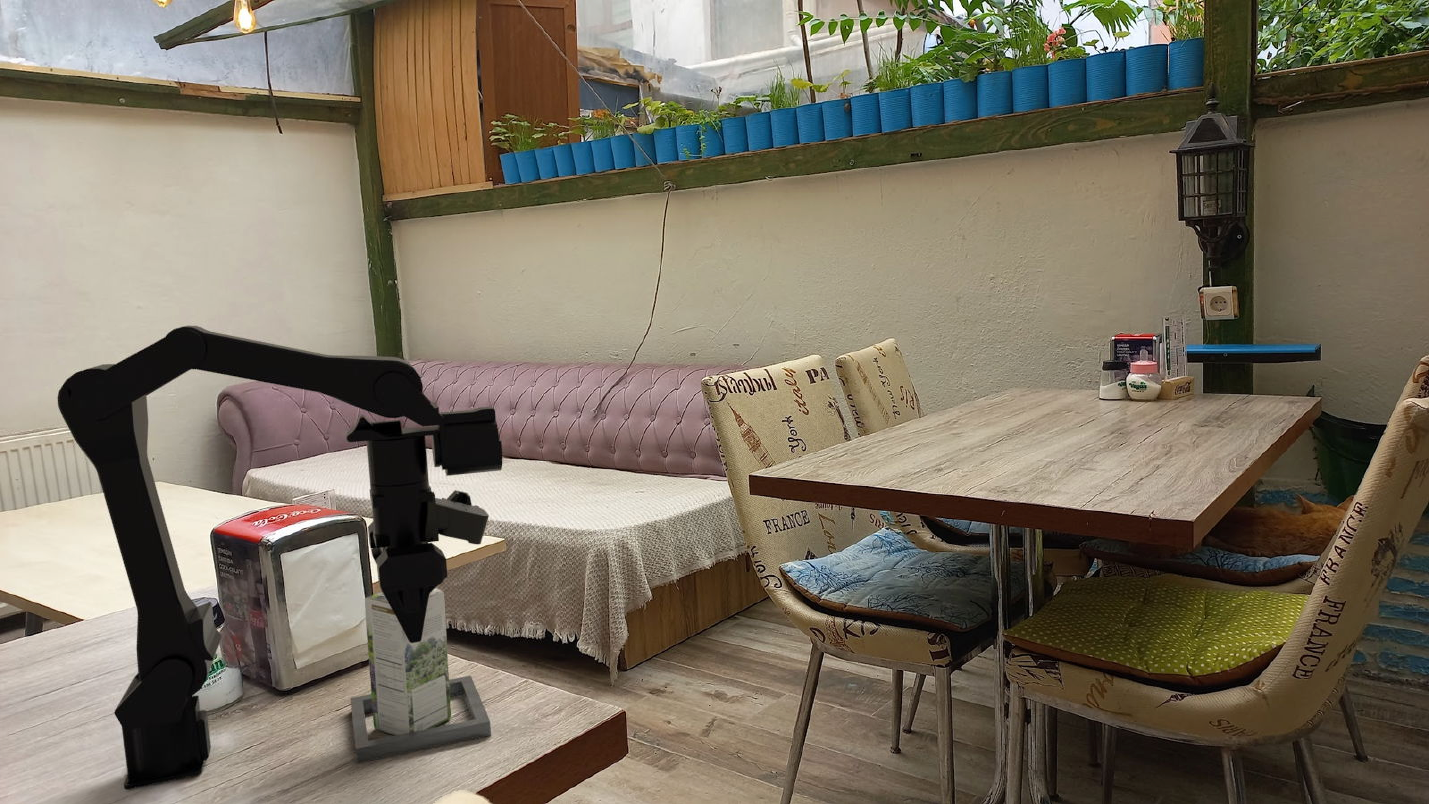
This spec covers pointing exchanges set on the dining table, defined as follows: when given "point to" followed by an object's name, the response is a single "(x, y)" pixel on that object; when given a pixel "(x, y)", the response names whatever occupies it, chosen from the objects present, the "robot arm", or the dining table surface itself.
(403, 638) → the syrup box
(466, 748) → the dining table surface
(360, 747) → the collar socket
